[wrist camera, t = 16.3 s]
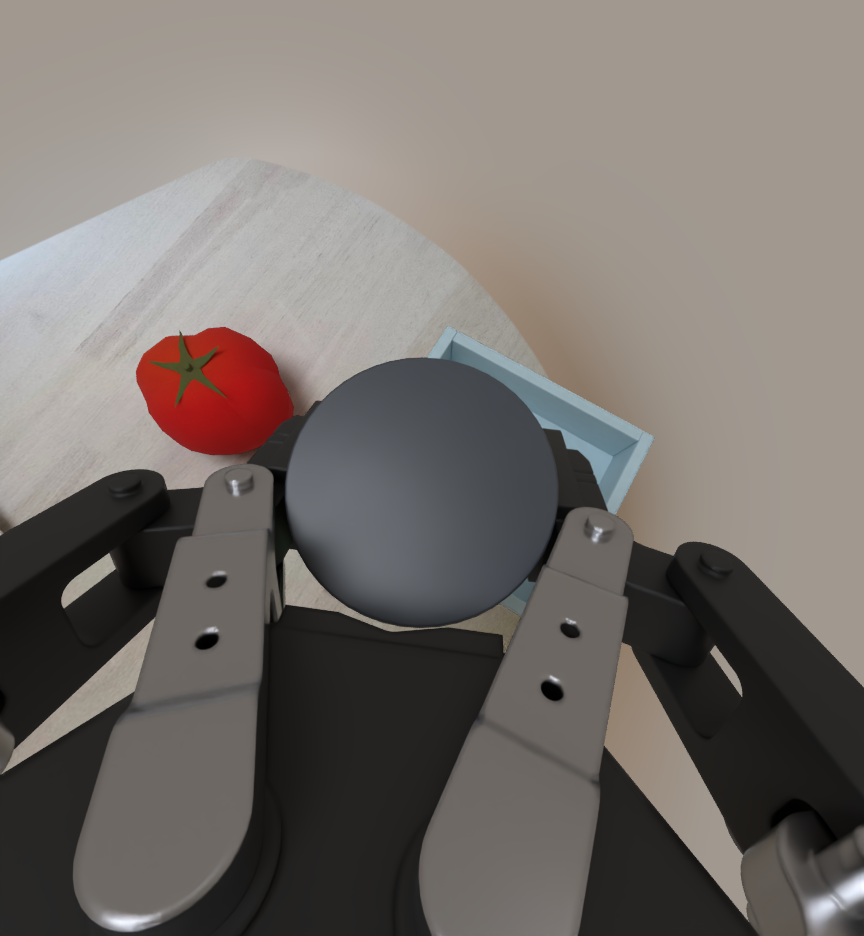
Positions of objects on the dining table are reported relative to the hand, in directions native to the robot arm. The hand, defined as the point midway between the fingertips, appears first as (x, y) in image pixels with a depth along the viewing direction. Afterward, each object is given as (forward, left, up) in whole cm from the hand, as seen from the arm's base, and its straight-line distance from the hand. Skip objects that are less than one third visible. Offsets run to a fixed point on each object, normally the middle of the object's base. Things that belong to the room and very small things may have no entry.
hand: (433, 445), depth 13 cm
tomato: (+22, 0, -30) cm, 37 cm away
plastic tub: (-1, +2, -4) cm, 5 cm away
